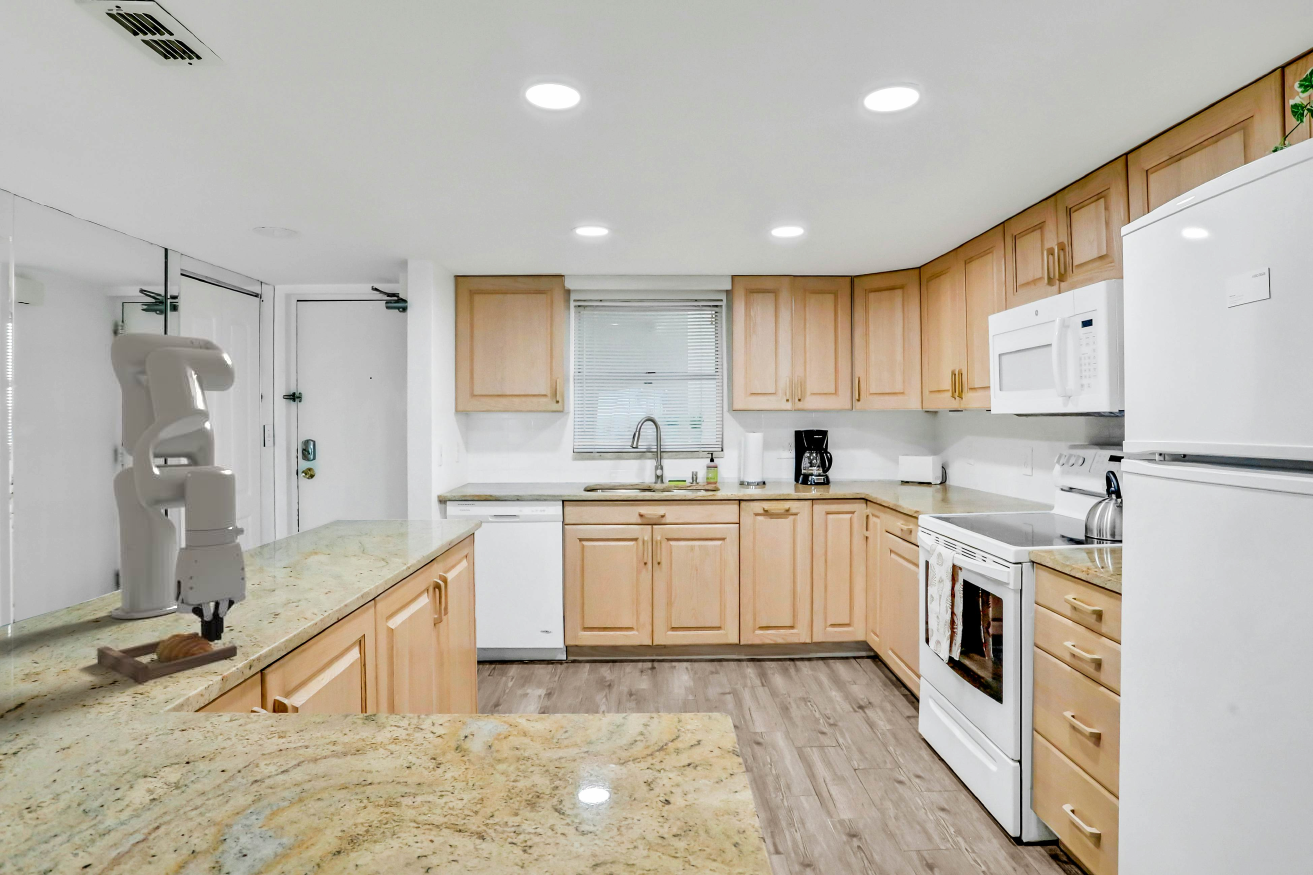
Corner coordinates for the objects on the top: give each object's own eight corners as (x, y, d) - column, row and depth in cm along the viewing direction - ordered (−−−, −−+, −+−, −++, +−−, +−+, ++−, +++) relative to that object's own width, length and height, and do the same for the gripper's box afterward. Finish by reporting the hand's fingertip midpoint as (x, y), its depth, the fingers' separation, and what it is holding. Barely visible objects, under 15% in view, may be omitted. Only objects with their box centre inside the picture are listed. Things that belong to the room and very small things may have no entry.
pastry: (225, 656, 111) (225, 634, 111) (183, 670, 105) (183, 647, 105) (192, 649, 115) (191, 628, 115) (149, 662, 109) (149, 639, 109)
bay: (97, 662, 108) (97, 647, 108) (194, 639, 120) (193, 625, 120) (139, 683, 99) (139, 667, 99) (239, 655, 111) (238, 641, 111)
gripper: (245, 530, 123) (246, 625, 123) (152, 542, 110) (153, 648, 111) (265, 533, 119) (267, 632, 119) (171, 546, 106) (173, 656, 107)
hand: (212, 639), depth 115 cm, fingers closed
